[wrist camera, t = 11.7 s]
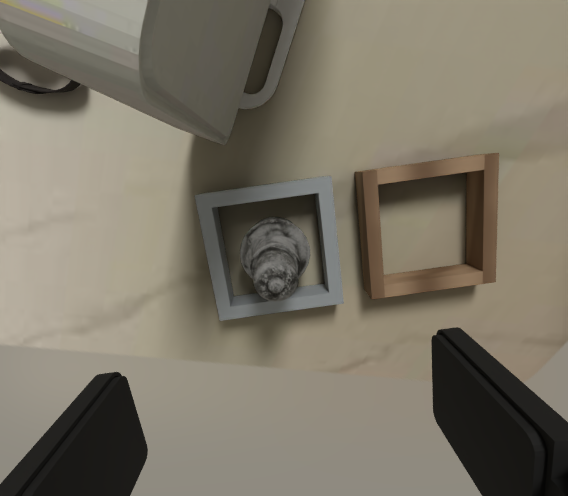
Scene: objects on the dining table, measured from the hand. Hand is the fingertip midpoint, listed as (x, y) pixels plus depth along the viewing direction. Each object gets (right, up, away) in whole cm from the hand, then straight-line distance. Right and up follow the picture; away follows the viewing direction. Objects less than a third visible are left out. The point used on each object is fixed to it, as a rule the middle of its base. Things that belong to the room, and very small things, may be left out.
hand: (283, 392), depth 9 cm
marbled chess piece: (-1, +5, +20) cm, 21 cm away
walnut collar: (+13, +7, +20) cm, 25 cm away
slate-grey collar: (-1, +5, +20) cm, 21 cm away
